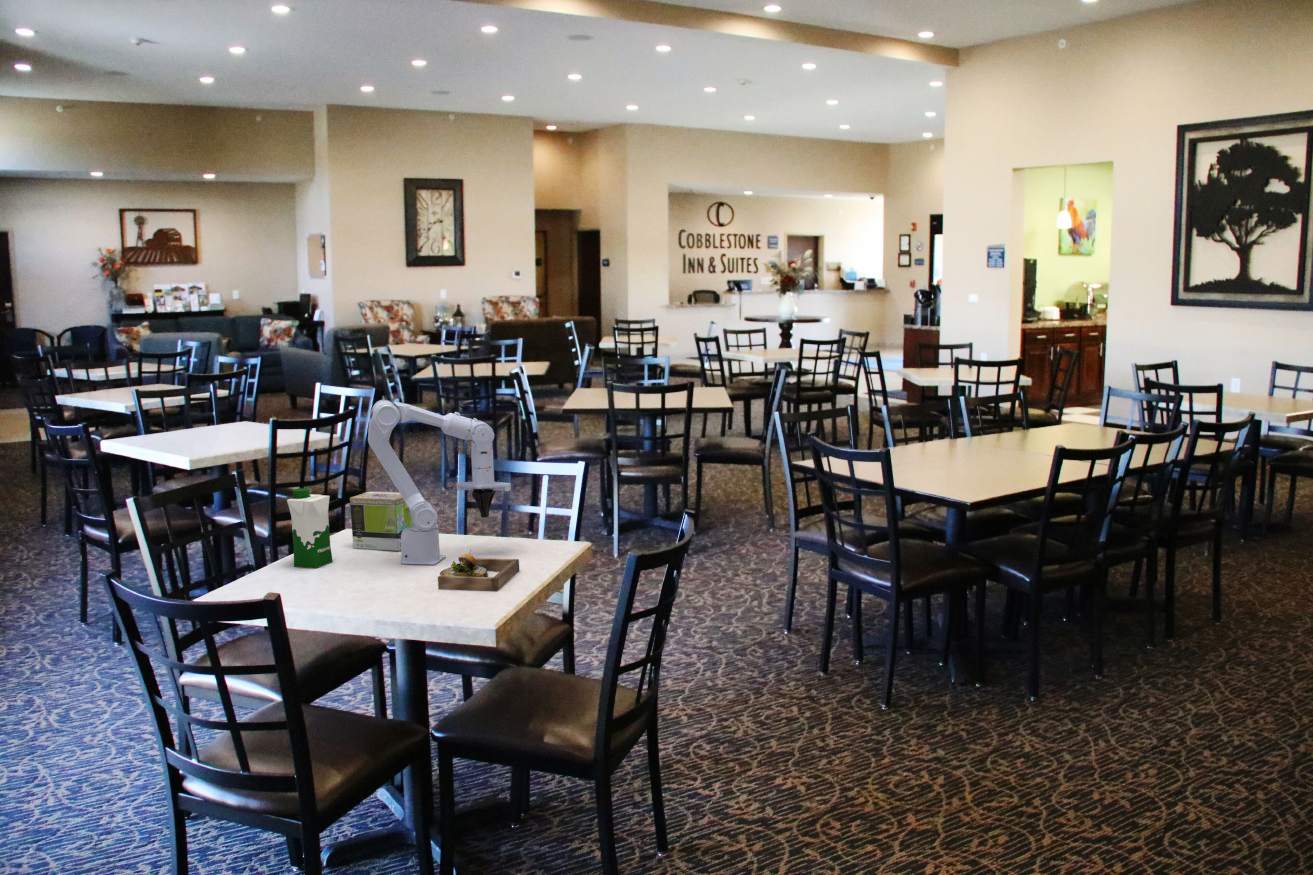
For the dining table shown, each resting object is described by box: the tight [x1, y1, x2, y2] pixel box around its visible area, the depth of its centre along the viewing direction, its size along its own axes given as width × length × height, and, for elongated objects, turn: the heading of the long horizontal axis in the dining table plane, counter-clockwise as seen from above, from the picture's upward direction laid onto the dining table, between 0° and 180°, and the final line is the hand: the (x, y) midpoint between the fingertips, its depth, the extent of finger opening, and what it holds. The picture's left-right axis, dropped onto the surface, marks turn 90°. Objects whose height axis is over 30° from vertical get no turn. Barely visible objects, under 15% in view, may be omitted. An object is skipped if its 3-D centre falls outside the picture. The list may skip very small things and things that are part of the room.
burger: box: [439, 549, 489, 577], centre depth 257 cm, size 12×12×8 cm
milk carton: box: [286, 487, 333, 569], centre depth 271 cm, size 9×9×20 cm
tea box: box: [349, 490, 414, 552], centre depth 289 cm, size 15×10×15 cm
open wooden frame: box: [437, 557, 520, 592], centre depth 255 cm, size 15×17×3 cm
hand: (485, 516), depth 277 cm, fingers closed
